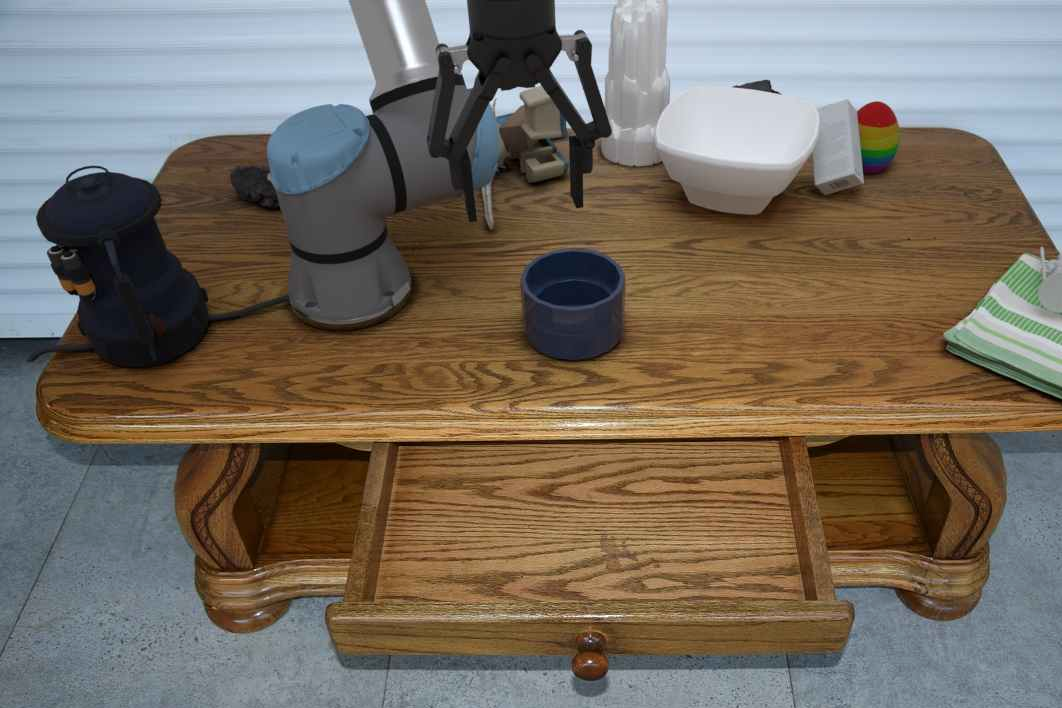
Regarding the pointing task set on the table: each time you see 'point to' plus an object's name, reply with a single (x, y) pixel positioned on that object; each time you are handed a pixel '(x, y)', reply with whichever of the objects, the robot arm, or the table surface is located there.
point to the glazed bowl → (573, 303)
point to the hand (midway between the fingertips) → (524, 207)
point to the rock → (255, 185)
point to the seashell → (487, 189)
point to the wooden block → (515, 132)
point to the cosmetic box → (838, 149)
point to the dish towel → (1014, 330)
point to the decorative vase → (636, 81)
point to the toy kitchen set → (540, 136)
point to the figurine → (1051, 284)
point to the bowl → (735, 145)
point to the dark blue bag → (122, 269)
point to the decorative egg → (877, 136)
